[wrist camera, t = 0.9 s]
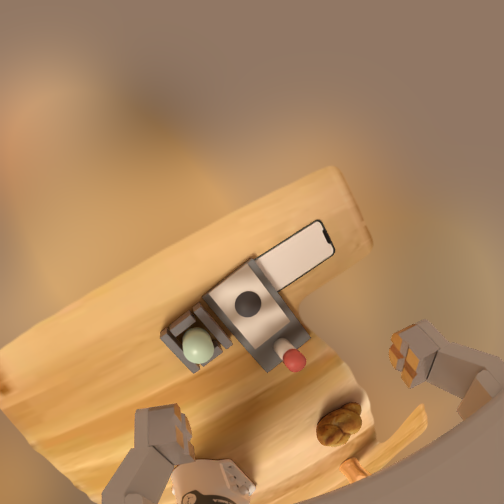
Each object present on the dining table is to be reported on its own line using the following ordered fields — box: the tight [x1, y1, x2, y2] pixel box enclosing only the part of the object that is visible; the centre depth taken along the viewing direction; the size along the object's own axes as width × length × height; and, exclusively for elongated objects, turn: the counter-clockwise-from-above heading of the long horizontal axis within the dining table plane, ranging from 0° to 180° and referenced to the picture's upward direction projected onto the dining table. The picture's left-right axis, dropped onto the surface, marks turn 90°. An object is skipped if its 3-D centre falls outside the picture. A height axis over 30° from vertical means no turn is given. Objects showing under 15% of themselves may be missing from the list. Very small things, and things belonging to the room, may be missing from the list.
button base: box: [160, 302, 233, 374], centre depth 52 cm, size 9×9×3 cm
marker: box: [273, 338, 306, 372], centre depth 53 cm, size 3×3×8 cm
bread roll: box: [316, 403, 362, 447], centre depth 60 cm, size 13×10×8 cm
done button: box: [182, 327, 214, 364], centre depth 49 cm, size 5×5×4 cm
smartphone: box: [254, 220, 335, 292], centre depth 56 cm, size 8×1×16 cm
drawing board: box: [202, 258, 311, 373], centre depth 55 cm, size 20×11×1 cm, turn 36°
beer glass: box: [339, 458, 372, 484], centre depth 61 cm, size 7×7×15 cm
